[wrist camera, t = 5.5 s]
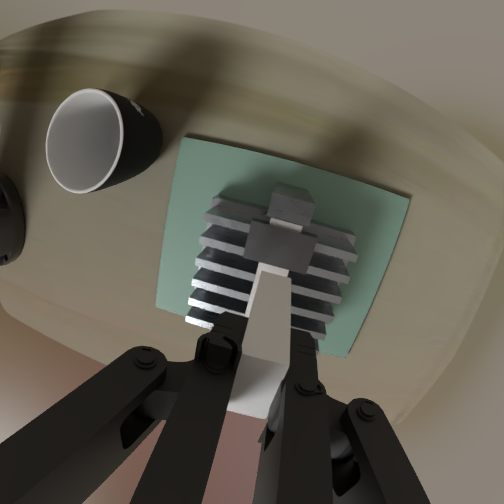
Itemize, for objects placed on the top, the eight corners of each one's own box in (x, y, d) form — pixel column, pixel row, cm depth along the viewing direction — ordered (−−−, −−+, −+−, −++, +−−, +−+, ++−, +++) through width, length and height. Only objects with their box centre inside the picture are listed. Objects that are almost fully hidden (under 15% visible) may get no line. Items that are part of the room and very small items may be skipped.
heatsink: (195, 308, 34) (167, 354, 25) (223, 168, 28) (195, 173, 20) (311, 340, 33) (314, 393, 25) (360, 206, 28) (388, 226, 19)
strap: (221, 348, 28) (218, 356, 26) (255, 210, 23) (253, 213, 21) (271, 361, 27) (270, 370, 26) (318, 227, 22) (319, 232, 21)
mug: (186, 115, 28) (140, 100, 18) (156, 193, 31) (104, 210, 21) (102, 89, 28) (44, 76, 18) (79, 158, 30) (19, 165, 21)
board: (157, 304, 35) (155, 306, 34) (184, 137, 28) (182, 136, 28) (344, 355, 34) (345, 358, 33) (407, 198, 27) (409, 199, 27)
